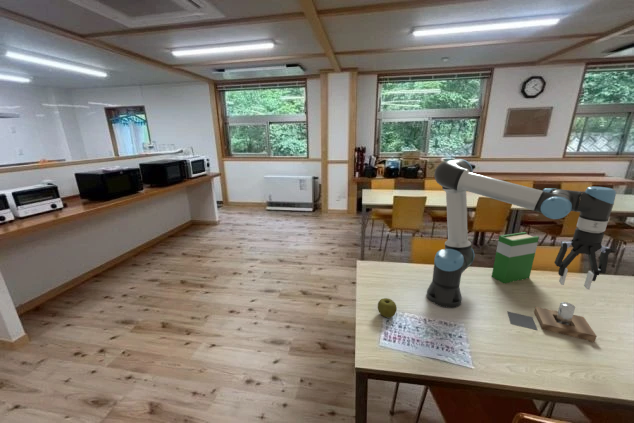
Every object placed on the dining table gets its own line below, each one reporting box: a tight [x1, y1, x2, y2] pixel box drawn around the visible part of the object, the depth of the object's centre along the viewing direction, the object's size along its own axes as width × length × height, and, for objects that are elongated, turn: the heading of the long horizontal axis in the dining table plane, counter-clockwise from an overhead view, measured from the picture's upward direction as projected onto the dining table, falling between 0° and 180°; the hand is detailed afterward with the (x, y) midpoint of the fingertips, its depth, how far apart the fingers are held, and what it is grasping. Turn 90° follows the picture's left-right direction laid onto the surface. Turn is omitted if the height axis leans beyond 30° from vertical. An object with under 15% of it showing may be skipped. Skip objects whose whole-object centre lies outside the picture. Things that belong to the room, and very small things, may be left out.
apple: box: [377, 297, 397, 319], centre depth 117 cm, size 8×8×7 cm
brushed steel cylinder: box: [556, 301, 576, 325], centre depth 109 cm, size 4×4×10 cm
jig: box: [533, 306, 598, 343], centre depth 110 cm, size 16×12×3 cm
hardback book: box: [491, 231, 540, 284], centre depth 144 cm, size 18×7×24 cm, turn 106°
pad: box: [506, 310, 539, 331], centre depth 114 cm, size 9×9×1 cm
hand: (573, 285), depth 105 cm, fingers open, 7 cm apart
